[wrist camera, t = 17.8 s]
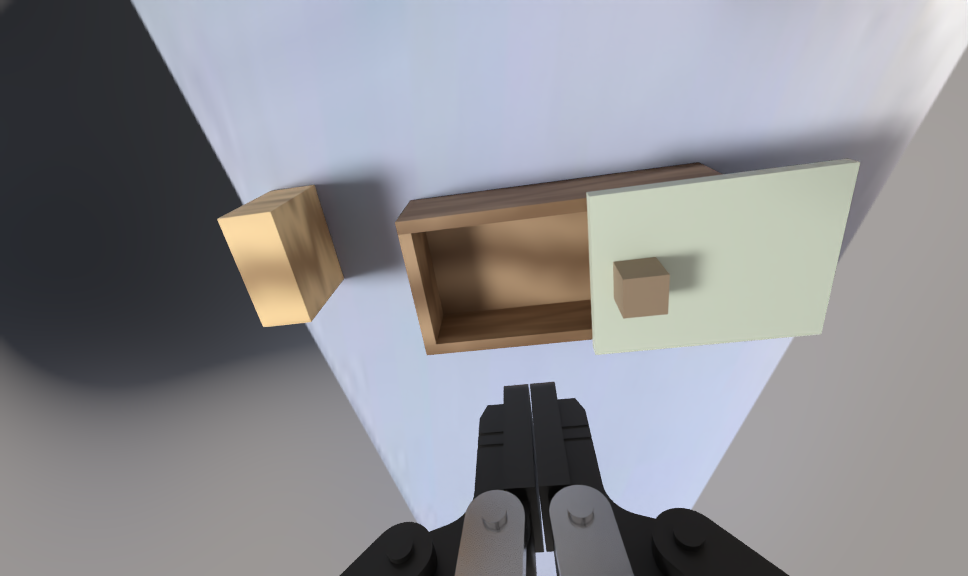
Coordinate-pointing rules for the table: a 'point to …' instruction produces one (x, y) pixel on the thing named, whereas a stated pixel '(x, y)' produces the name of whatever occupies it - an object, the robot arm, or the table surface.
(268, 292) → the key
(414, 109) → the table surface
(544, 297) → the wooden box
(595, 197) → the lid
